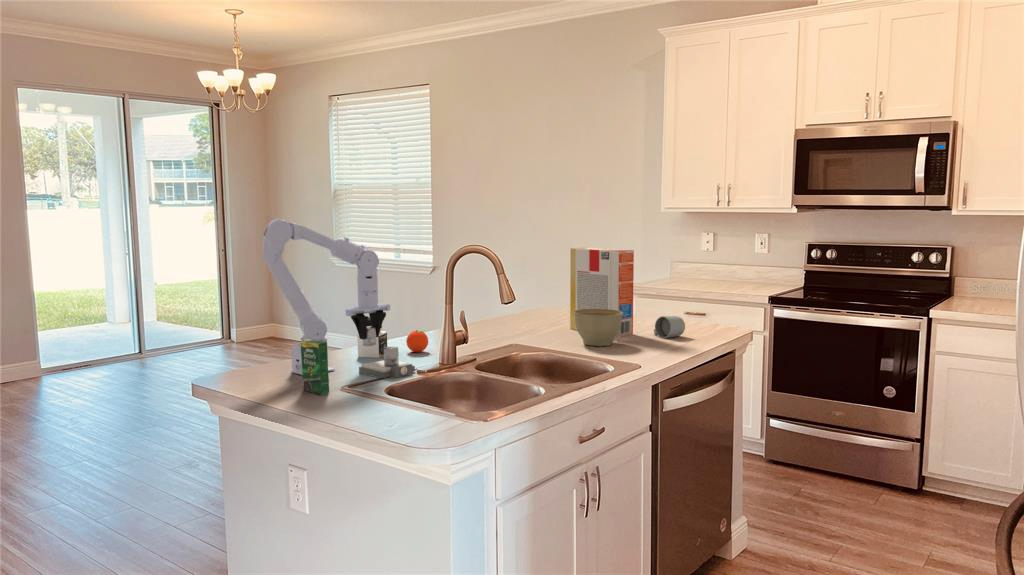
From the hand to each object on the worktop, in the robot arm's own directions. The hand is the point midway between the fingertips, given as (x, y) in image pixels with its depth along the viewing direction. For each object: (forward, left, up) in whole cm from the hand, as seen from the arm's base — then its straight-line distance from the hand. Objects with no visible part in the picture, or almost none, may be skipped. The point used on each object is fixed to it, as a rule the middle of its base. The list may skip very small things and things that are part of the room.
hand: (369, 337), depth 215 cm
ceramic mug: (+97, -41, -9) cm, 105 cm away
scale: (-1, -11, -8) cm, 13 cm away
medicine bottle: (+10, +12, -9) cm, 18 cm away
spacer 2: (-2, -12, -6) cm, 13 cm away
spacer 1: (0, 0, -2) cm, 2 cm away
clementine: (+23, +5, -9) cm, 25 cm away
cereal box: (+90, -18, -9) cm, 92 cm away
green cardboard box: (-27, -13, -9) cm, 31 cm away
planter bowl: (+70, -31, -9) cm, 77 cm away
